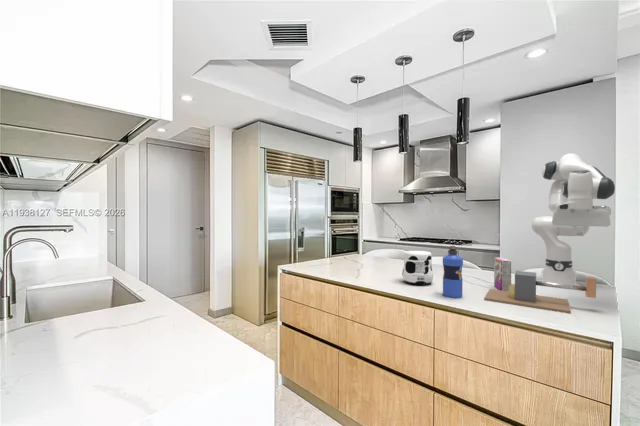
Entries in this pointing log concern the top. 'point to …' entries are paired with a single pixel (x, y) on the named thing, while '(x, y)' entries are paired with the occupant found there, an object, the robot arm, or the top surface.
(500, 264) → the candy bar box
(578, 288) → the shaft
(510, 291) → the spacer
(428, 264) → the milk container
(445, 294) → the water bottle
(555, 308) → the bearing stand
